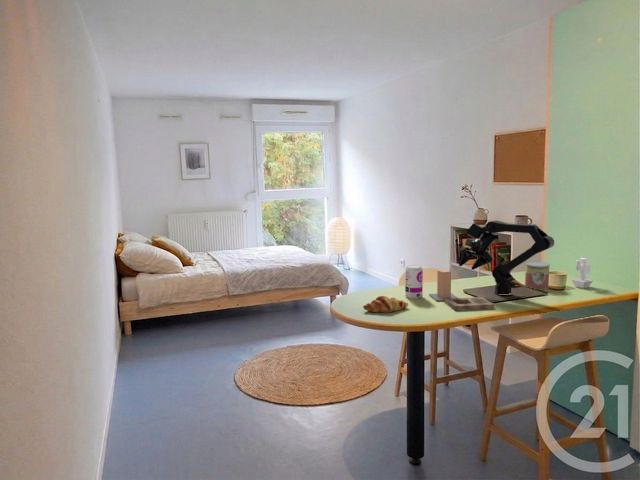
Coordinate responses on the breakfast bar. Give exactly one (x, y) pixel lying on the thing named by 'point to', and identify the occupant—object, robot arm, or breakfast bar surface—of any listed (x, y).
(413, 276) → the supplement can
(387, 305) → the croissant
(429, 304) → the breakfast bar surface
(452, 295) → the slate pad
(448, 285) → the terracotta block
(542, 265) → the canned food
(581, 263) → the figurine
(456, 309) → the puzzle board
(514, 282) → the sunglasses case
